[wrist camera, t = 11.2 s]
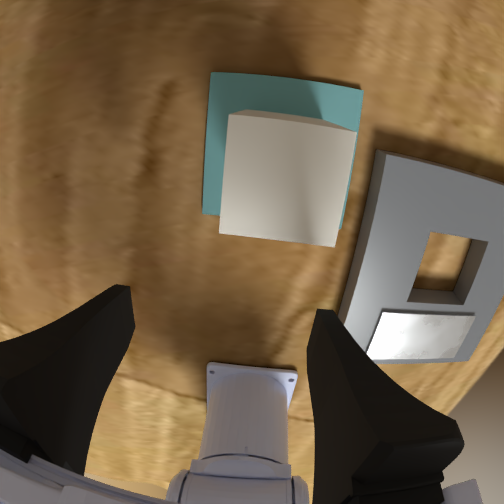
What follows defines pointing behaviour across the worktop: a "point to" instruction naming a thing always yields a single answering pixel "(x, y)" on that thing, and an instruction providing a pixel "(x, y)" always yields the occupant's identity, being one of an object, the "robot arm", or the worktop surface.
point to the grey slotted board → (409, 258)
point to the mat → (271, 100)
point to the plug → (285, 177)
